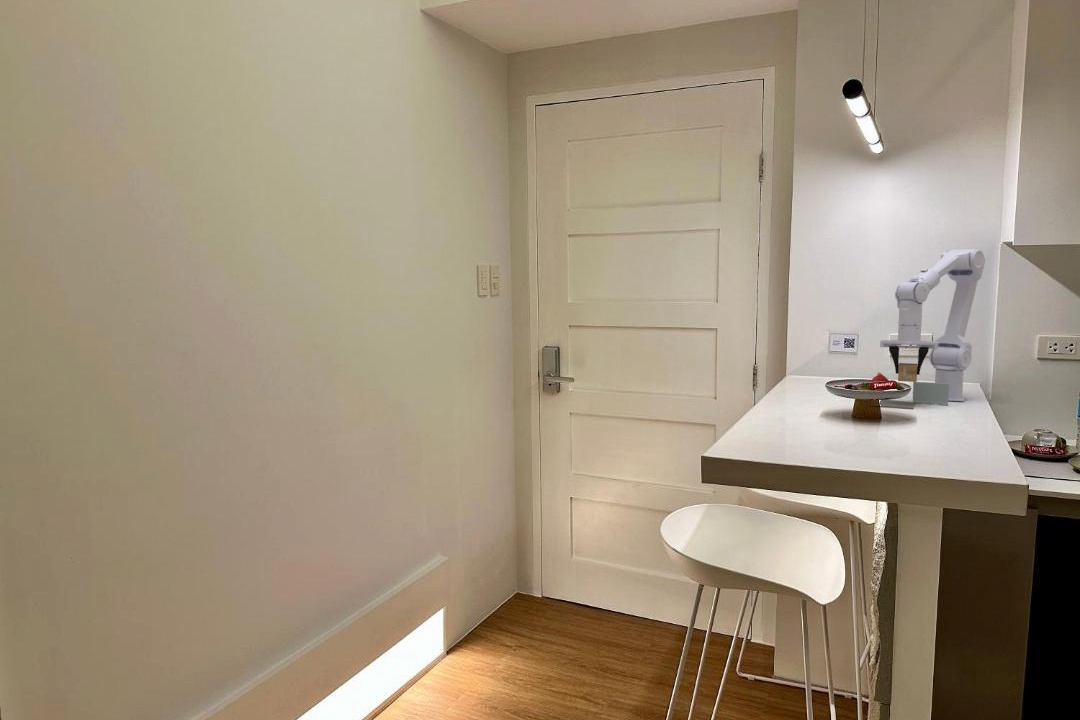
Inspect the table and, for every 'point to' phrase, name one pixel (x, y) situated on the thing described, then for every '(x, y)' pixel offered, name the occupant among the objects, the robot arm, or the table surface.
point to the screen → (930, 393)
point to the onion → (879, 378)
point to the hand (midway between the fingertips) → (907, 373)
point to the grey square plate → (897, 404)
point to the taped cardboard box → (907, 372)
